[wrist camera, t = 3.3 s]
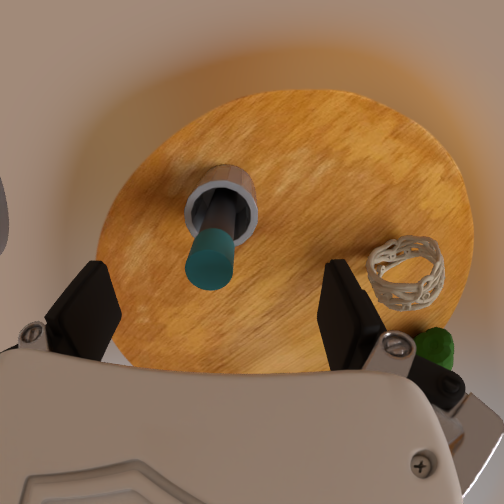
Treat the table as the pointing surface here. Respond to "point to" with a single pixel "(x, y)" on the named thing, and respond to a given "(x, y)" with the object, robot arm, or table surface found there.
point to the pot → (232, 180)
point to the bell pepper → (436, 346)
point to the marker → (214, 243)
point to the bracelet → (399, 289)
